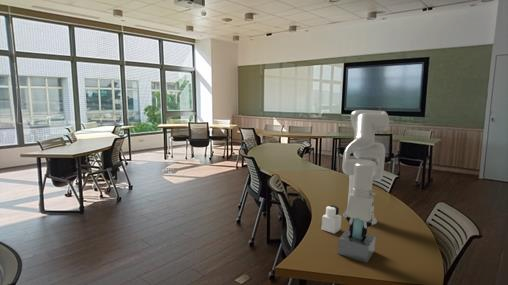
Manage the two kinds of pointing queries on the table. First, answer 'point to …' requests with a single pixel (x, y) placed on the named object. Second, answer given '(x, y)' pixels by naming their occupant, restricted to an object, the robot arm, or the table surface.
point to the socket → (356, 246)
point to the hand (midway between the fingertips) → (357, 234)
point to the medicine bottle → (331, 219)
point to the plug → (357, 229)
